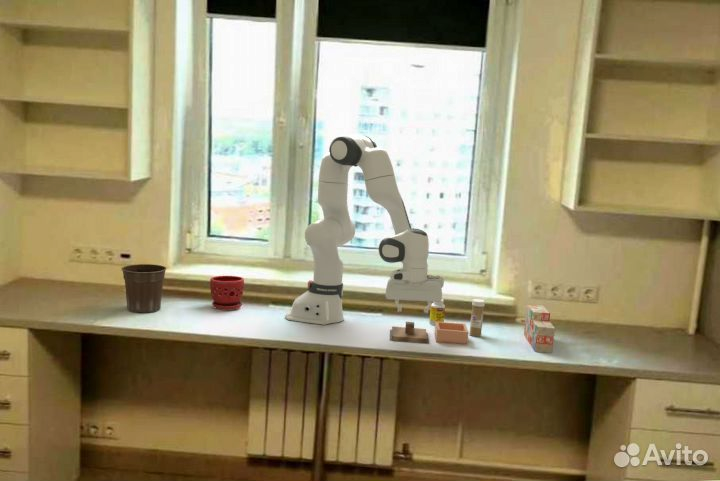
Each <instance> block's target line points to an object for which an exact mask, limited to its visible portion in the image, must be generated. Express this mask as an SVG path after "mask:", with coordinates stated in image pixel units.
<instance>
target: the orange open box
mask: <svg viewBox="0 0 720 481" xmlns="http://www.w3.org/2000/svg"><path fill="white" fill-rule="evenodd" d="M434 338H435V342H436V343H439V344H451V345H452V344H453V345H454V344H455V345H462V346H464V345H465V346H467V345H468V341H469V340H468V338H469V330H468V327H467V325H466V323H459V322H448V321H444V322H436V321H435V326H434Z"/></svg>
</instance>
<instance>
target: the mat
mask: <svg viewBox="0 0 720 481" xmlns="http://www.w3.org/2000/svg"><path fill="white" fill-rule="evenodd" d="M389 341H390V342H397V341H396V340H392V329H389ZM398 342H400V343H401V342H403V343H410V342H409V341H398ZM411 343H412V344H413V343H414V344H422V343H421V342H411ZM423 344H424V345H427V344H428V345H429V344H430V340H429V333H428V332H427V343H423Z"/></svg>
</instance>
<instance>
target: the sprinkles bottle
mask: <svg viewBox="0 0 720 481" xmlns="http://www.w3.org/2000/svg"><path fill="white" fill-rule="evenodd" d="M471 305H472V308H471V315H470V316H471V317H470V322H469V323H470V325H469V326H470V327H469V332H468V335H470V336H472V337H477V338H478V337H481V336H482V329H483V322H484V321H483V320H484V309H485V306H486V305H485V300H484V299H480V298H474V299H473V298H472V303H471Z"/></svg>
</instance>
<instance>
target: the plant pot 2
mask: <svg viewBox="0 0 720 481" xmlns="http://www.w3.org/2000/svg"><path fill="white" fill-rule="evenodd" d="M209 285H210V286H209V287H210V294H211V298H212V303H211V305H212V306H213V308H215V309H217V310H222V311H233V310H235V311H236V310H237V309H239V308H240V307H242V305H243V303H242V301H241V300H242V297H243V294H244V286H245V278H244V277H242V276H237V275H216V276H211V277H210V282H209Z"/></svg>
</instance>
